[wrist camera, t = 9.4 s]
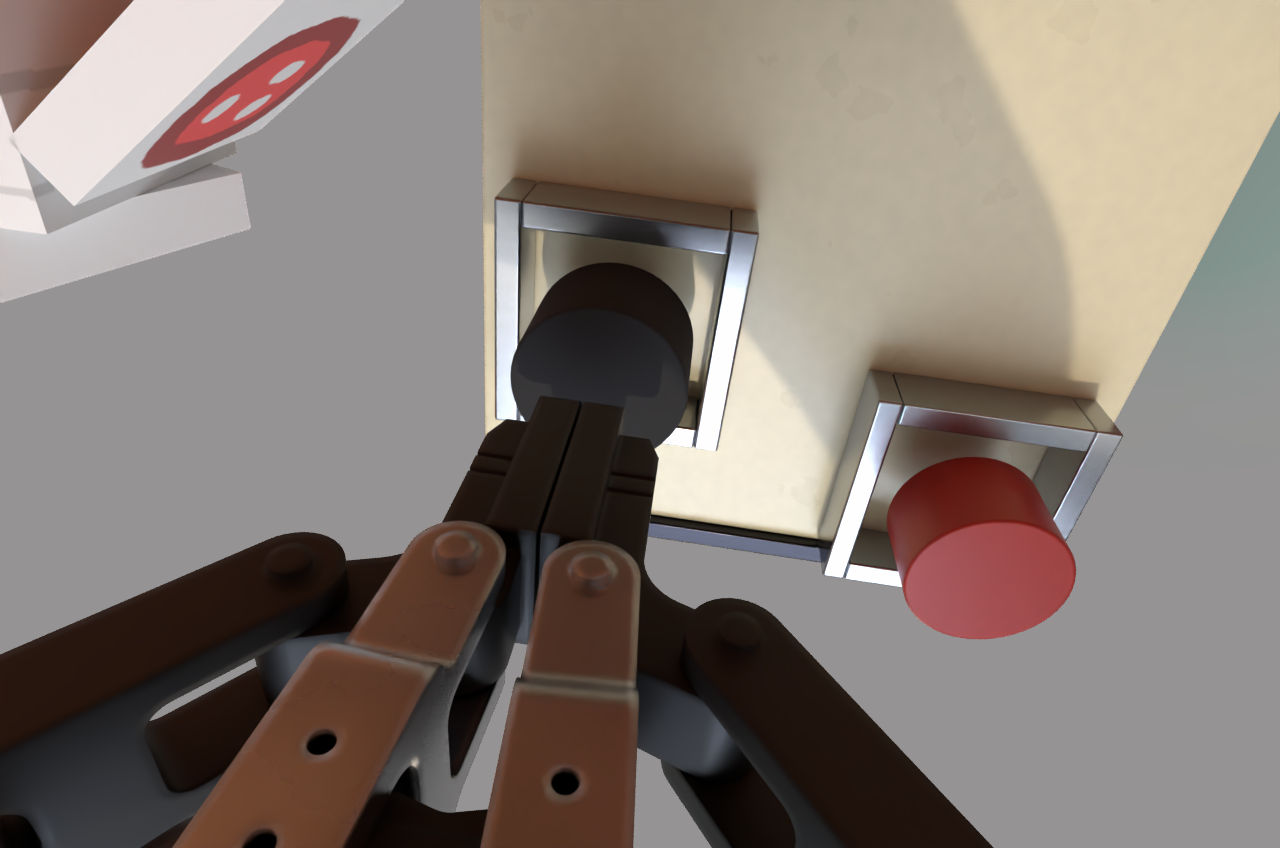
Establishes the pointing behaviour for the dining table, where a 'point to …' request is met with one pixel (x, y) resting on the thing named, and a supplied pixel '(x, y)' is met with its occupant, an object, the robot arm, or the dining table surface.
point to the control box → (870, 229)
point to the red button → (978, 549)
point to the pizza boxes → (143, 121)
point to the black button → (609, 348)
